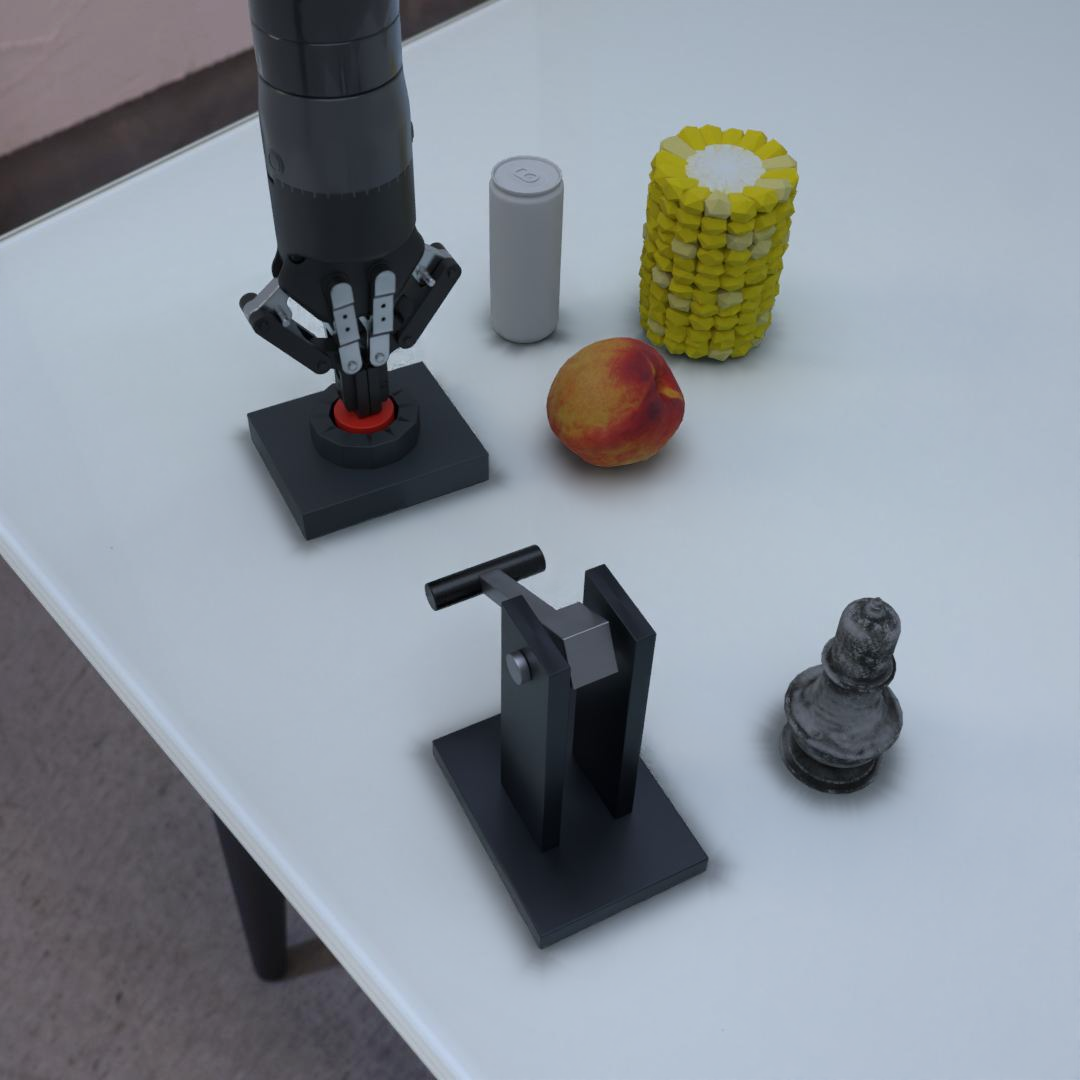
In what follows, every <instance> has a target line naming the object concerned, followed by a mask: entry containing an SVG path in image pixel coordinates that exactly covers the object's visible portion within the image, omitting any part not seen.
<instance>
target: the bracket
mask: <svg viewBox="0 0 1080 1080" xmlns="http://www.w3.org/2000/svg"><path fill="white" fill-rule="evenodd" d="M582 604H584V605H585V606H587V607H588V608H590V609H591V610H593V611H594V612H595V613H597V614H598V615H600V616H601V617H603V618H604V619H606V620H607V621H609V624H610V630H611V635H612V640H613V645H614V650H615V656H616V661H617V666H618V672H616V673H614V674H611V675H609V676H606V677H604V678H601V679H599V680H596V681H594V682H592V683H589V684H587V685H584V686H582V687H579V688H577V689H574V690H573V689H572V688H570V676H571V667H570V665H569V664H568V662H567V661H566V659H565V658H564V657H563V655H562V654H561V652H560V651H559V649H558V648H557V646H556V645H555V643H554V642H553V640H552V639H551V637H550V636H549V634H548V633H547V631H546V630H545V628H544V627H543V625H542V624H541V622H540V621H539V619H538V618H537V616H536V615H535V613H534V612H533V610H532V609H531V607H530V606H529V604H528V603H527V601H526V600H525V598H524V597H523V595H519V596H516V597H513V598H511V599H508V600H505V601H502V602H501V607H500V618H501V619H500V713H497V714H494V715H492V716H490V717H488V718H485V719H482V720H480V721H477V722H475V723H472V724H470V725H468V726H464V727H463V728H460V729H457V730H454V731H452V732H450V733H448V734H446V735H445V734H444V735H443V736H440V737H438V738H435V739H433V740H432V741H431V744H432V755H433V757H434V758H435V760H436V762H437V764H438V765H439V767H440V770H441V771H442V773H443V775H444V777H445V779H446V780H447V782H448V784H449V786H450V788H451V789H452V791H453V793H454V795H455V796H456V797H455V798H457V800H458V803H459V804H460V806H461V808H462V810H463V811H464V813H465V815H466V817H467V819H468V821H469V822H470V824H471V826H472V828H473V829H474V831H475V833H476V835H477V837H478V838H479V841H480V842H481V844H482V845H483V848H484V849H485V851H486V854H487V855H488V857H489V859H490V860H491V862H492V865H493V866H494V867H495V869H496V872H497V874H498V875H499V878H501V881H502V883H503V885H504V886H505V888H506V889H507V892H508V893H509V895H510V898H511V899H512V900H513V902H514V904H515V906H516V908H517V910H518V911H519V913H520V915H521V917H522V919H523V921H524V923H525V924H526V926H527V927H528V930H529V932H530V933H531V935H532V937H533V939H534V940H535V942H536V944H537V946H538V949H540V950H542V949H545V948H547V947H548V946H551V945H553V944H555V943H557V942H559V941H561V940H563V939H565V938H567V937H570V936H572V935H573V934H576V933H578V932H580V931H582V930H584V929H587V928H588V927H590V926H592V925H594V924H597V923H599V922H601V921H603V920H605V919H608V918H609V917H612V916H613V915H616V914H618V913H620V912H622V911H624V910H626V909H628V908H631V907H632V906H635V905H637V904H640V903H641V902H642V901H645V900H647V899H649V898H651V897H653V896H655V895H657V894H660V893H661V892H664V891H666V890H669V889H670V888H672V887H675V886H676V885H679V884H681V883H683V882H685V881H687V880H689V879H691V878H693V877H695V876H697V875H699V874H702V873H704V872H706V871H707V868H708V863H709V859H710V858H709V856H708V855H707V853H706V852H705V850H704V849H703V847H702V845H700V843H699V841H698V840H697V838H696V837H695V835H694V834H693V832H692V831H691V829H690V828H689V827H688V825H687V823H686V822H685V821H684V820H683V818H682V816H681V814H680V813H679V812H678V810H677V809H676V807H675V806H674V805H673V803H672V801H671V800H670V798H669V797H668V795H667V794H666V792H665V791H664V789H663V788H662V787H661V785H660V783H659V782H658V781H657V779H656V777H655V776H654V774H653V773H652V772H651V770H650V768H649V767H648V766H647V764H646V763H645V761H644V760H643V758H642V757H641V750H642V744H643V737H644V729H645V721H646V713H647V707H648V700H649V692H650V685H651V677H652V670H653V662H654V656H655V648H656V641H657V632H656V630H654V628H653V627H652V625H651V624H650V623H649V621H648V620H647V618H646V617H645V616H644V615H643V613H642V612H641V610H640V609H639V608H638V607H637V605H636V604H635V602H634V601H633V600H632V598H631V597H630V595H629V594H628V593H627V591H626V590H625V589H624V588H623V586H622V585H621V584H620V582H619V581H618V580H617V578H616V577H615V575H614V574H613V573H612V572H611V570H610V569H609V567H608V566H607V564H606V563H601V564H599V565H596V566H594V567H592V568H588V569H585V570H584V579H583V593H582Z"/></svg>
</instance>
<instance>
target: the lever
mask: <svg viewBox="0 0 1080 1080" xmlns="http://www.w3.org/2000/svg"><path fill="white" fill-rule="evenodd" d="M546 570H547V561H546V557H545V554H544V553H543V550H542V549H541V548H540V546H539V545H537V544H531V545H528V546H525V547H522V548H520V549H517V550H515V551H512V552H509V553H506V554H503V555H500V556H498V557H495V558H493V559H490V560H487V561H484V562H481V563H478V564H476V565H472V566H470V567H468V568H465V569H461V570H459V571H456V572H454V573H451V574H448V575H445V576H442V577H440V578H437V579H434V580H430V581H428V582H426V583H425V584H424V593H425V597H426V600H427V603H428V604H429V605H430V608H431V609H432V610H433V611H434V612H439V611H441V610H443V609H447V608H449V607H452V606H455V605H457V604H460V603H463V602H465V601H468V600H470V599H474V598H477V597H480V596H481V595H484V596H485V597H487V598H488V599H490V601H492V602H493V603H494V604H496V605H497V606H499V607H500V608H501V602H502V601H505V600H508V599H511V598H513V597H516V596H519V595H523V597H524V598H525V600H526V601H527V603H528V604H529V606H530V607H531V609H532V610H533V612H534V613H535V615H536V616H537V618H538V619H539V621H540V622H541V624H542V625H543V627H544V628H545V630H546V631H547V633H548V634H549V636H550V637H551V639H552V640H553V642H554V643H555V645H556V646H557V648H558V649H559V651H560V652H561V654H562V655H563V657H564V658H565V659H566V661H567V662H568V664H569V665H570V667H571V676H570V688H572V689H573V690H574V689H577V688H579V687H582V686H584V685H587V684H589V683H592V682H594V681H596V680H599V679H601V678H604V677H606V676H609V675H611V674H614V673H616V672H618V666H617V661H616V656H615V650H614V645H613V640H612V635H611V630H610V624H609V621H607V620H606V619H604V618H603V617H601V616H600V615H598V614H597V613H595V612H594V611H593V610H591V609H590V608H588V607H587V606H585V605H584V604H583V602H581V601H577V602H574V603H572V604H568V605H567V606H563V607H560V608H559V609H556V608H554V607H553V606H552V605H550V604H549V603H547V602H546V601H545V600H543V599H542V598H541V597H539V596H538V595H536V594H535V593H534V592H532V591H530V590H529V589H528V588H526V587H525V586H524V585H522V584H521V583H520V581H522V580H526V579H528V578H530V577H533V576H536V575H538V574H541V573H544V572H545V571H546Z"/></svg>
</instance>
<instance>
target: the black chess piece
mask: <svg viewBox="0 0 1080 1080" xmlns="http://www.w3.org/2000/svg"><path fill="white" fill-rule="evenodd" d="M901 634H902V621H901V617H900V616H899V614H898V612H897V611H896V610H895V608H894V607H893V606H892V605H891V604H889V603H888V602H886V601H885V600H883V599H882V598H881V597H880V596H878V597H877V596H876V597H869V596H868V597H861V598H858V599H854V600H853V601H850V603H848V604H847V605H846V607H845V608H844V609H843V610H842V612H841V615H840V617H839V621H838V624H837V627H836V632H835V635H834V636H833V637H831V638H830V639H828V640H827V642H826V643H825V644H824V646H823V648H822V651H821V653H820V662H821V663H820V664H818V665H814V666H811V667H808V668H806V669H804V670H803V671H801V672H799V673H797V675H795V677H794V678H793V679H792V680H791V681H790V682H789V684H788V687H787V689H786V692H785V694H784V703H783V710H784V713H785V717H786V720H787V722H786V724H785V725H784V726H783V729H782V731H781V733H780V736H779V751H780V755H781V760H782V761H783V764H784V765H785V766H786V768H787V770H788V771H789V772H790V773H791V774H792V775H793V776H794V777H795V778H796V779H797V780H798V781H799V782H802V784H804V785H806V786H807V787H809V788H811V789H814V790H817V791H819V792H822V793H827V794H833V795H844V794H852V793H855V792H858V791H861V790H863V789H865V788H867V787H868V786H869V785H871V784H873V782H874V780H875V779H876V778H877V776H878V775H879V774H880V770H881V768H882V764H883V753H884V752H886V751H887V750H890V749H891V748H892V747H893V746H894V744H895V743H896V742H897V740H898V739H899V738H900V735H901V732H902V728H903V726H904V714H903V713H904V711H903V709H902V705H901V703H900V701H899V699H898V697H897V696H896V694H895V693H894V691H893V690H892V688H891V687H890V686H889V685H890V684H891V683H892V682H893V680H894V679H895V676H896V673H897V661H896V657H895V655H894V653H895V650H896V647H897V644H898V642H899V640H900V639H899V638H900V635H901Z"/></svg>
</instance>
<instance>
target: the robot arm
mask: <svg viewBox="0 0 1080 1080" xmlns="http://www.w3.org/2000/svg"><path fill="white" fill-rule="evenodd" d="M247 5H248V14H249V21H250V28H251V34H252V35H251V36H252V43H253V50H254V56H255V57H254V58H255V65H256V70H257V71H256V73H257V107H258V108H257V111H258V121H259V128H260V136H261V143H262V150H263V156H264V163H265V171H266V177H267V184H268V191H269V198H270V205H271V213H272V219H273V226H274V227H273V228H274V232H275V239H276V252H275V255H274V258H273V260H272V262H271V268H270V269H271V275H272V277H273V278H272V279H271V280H270V281H269V282H268V283H267V284H266V285H265V286H264V287H263V289H262V290H261V291H260V292H258V293H256V292H247V293H244V294H243V295H242V296H241V297H240V298H239V300H238V306H239V308H240V310H241V311H242V313H243V316H244V317H245V319H246V321H247V322H248V324H249V325H250V326H251V328H252V330H253V332H254V333H255V334H256V335H258V336H259V337H260V338H262V339H263V340H265V341H266V342H268V343H269V344H271V345H272V346H274V347H275V348H277V349H279V350H280V351H281V352H283V353H284V354H285V355H288V356H289V357H291V359H293V360H294V361H296V362H298V363H299V364H300V365H302V366H304V367H305V368H307V369H308V370H310V371H311V372H313V373H314V374H316V375H325V374H327V373H328V372H330V371H331V370H333V374H334V383H336V391H337V395H338V396H339V398H340V399H341V401H342V402H343V404H344V406H345V407H346V409H347V410H348V411H349V412H353V411H354V412H355V414H356V415H357V417H358V418H362V417H365V416H369V415H372V414H375V413H378V412H381V411H382V404H381V403H382V402H385V401H387V399H388V396H389V381H388V371H389V370H388V361H389V359H390V355H391V354H392V353H394V352H395V351H396V350H398V349H402V350H408V349H411V348H413V347H414V346H415V345H416V344H417V342H418V341H419V339H420V337H421V336H422V335H423V333H424V331H425V330H426V329H427V327H428V325H429V324H430V323H431V321H432V319H433V318H434V316H435V315H436V313H437V312H438V310H439V309H440V307H441V306H442V304H443V303H444V301H445V300H446V298H447V297H448V295H449V294H450V293H451V291H452V289H453V288H454V286H455V285H456V283H457V282H458V280H459V279H460V278H461V275H462V271H463V270H462V267H461V266H460V265H459V263H458V262H457V260H456V259H455V258H454V257H453V255H452V254H450V252H449V251H448V249H447V248H446V247H445V245H443V243H442V242H438V241H436V242H432V243H430V244H427V243H425V240H424V237H423V236H422V234H421V232H419V230H418V229H417V226H416V223H417V206H416V189H415V170H414V168H415V167H414V151H413V142H414V138H415V131H414V124H413V121H412V116H411V106H410V105H411V103H410V98H409V92H408V87H407V84H406V76H405V72H404V63H403V47H402V45H403V44H402V43H403V42H402V28H401V27H402V25H401V11H400V0H247ZM289 298H290V299H291V300H293V301H294V302H295V303H296V304H297V305H299V306H300V307H301V308H302V309H304V310H305V311H307V312H308V313H309V314H310V315H312V317H314V318H315V319H317V320H318V321H320V322H322V326H323V331H324V336H325V337H318V336H317V335H316V334H314V333H313V332H312V331H310V330H309V329H307V328H306V327H304V326H303V325H301V324H300V323H299V322H297V321H296V320H295V319H293V311H292V310H291V308H290V306H289V304H288V300H289Z"/></svg>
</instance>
